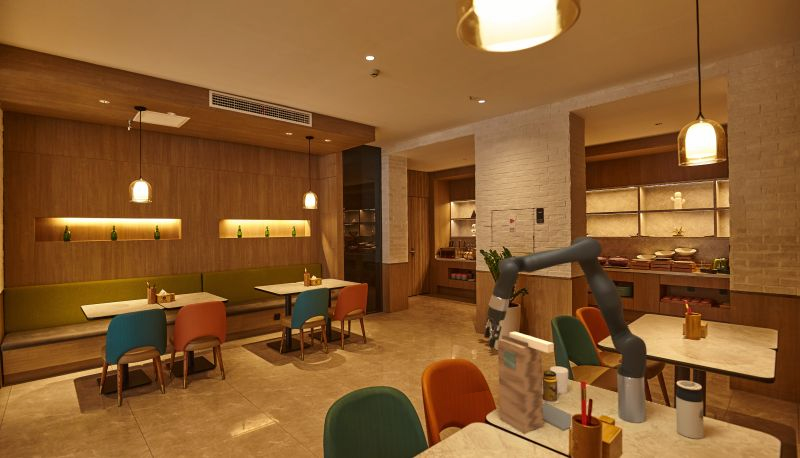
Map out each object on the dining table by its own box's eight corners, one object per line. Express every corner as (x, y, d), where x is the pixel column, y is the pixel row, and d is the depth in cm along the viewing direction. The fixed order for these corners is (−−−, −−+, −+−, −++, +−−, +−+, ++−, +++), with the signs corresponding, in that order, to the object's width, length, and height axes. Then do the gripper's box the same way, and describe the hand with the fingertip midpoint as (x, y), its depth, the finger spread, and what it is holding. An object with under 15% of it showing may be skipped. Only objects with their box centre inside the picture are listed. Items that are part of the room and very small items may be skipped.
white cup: (571, 394, 181) (571, 372, 181) (554, 394, 181) (553, 372, 181) (564, 387, 189) (564, 366, 189) (548, 387, 189) (547, 366, 189)
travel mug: (671, 431, 148) (670, 382, 147) (685, 426, 151) (684, 378, 151) (694, 441, 140) (693, 390, 140) (708, 436, 143) (707, 386, 143)
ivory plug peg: (515, 339, 160) (515, 331, 160) (553, 351, 143) (553, 343, 143) (509, 340, 159) (509, 332, 159) (547, 353, 142) (547, 344, 142)
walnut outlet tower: (518, 413, 165) (516, 332, 164) (543, 426, 153) (541, 339, 153) (499, 419, 160) (497, 336, 159) (523, 434, 148) (521, 344, 148)
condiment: (559, 403, 173) (558, 375, 172) (538, 401, 175) (537, 374, 175) (557, 396, 180) (557, 369, 179) (537, 394, 182) (537, 368, 182)
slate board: (545, 403, 172) (545, 402, 172) (584, 422, 156) (584, 420, 156) (525, 410, 167) (525, 409, 167) (563, 430, 150) (563, 429, 150)
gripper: (511, 315, 158) (501, 352, 161) (502, 301, 172) (493, 336, 175) (493, 311, 157) (483, 348, 160) (485, 298, 171) (476, 332, 174)
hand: (488, 342), depth 168 cm, fingers open, 8 cm apart
